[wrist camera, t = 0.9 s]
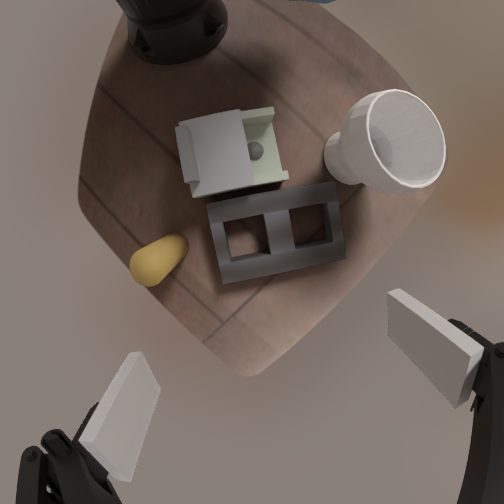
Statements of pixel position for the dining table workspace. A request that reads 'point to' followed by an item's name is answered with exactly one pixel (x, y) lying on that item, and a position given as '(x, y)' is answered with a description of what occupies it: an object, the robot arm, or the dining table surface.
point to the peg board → (278, 231)
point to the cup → (387, 144)
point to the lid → (214, 153)
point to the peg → (158, 259)
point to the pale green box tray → (261, 148)
